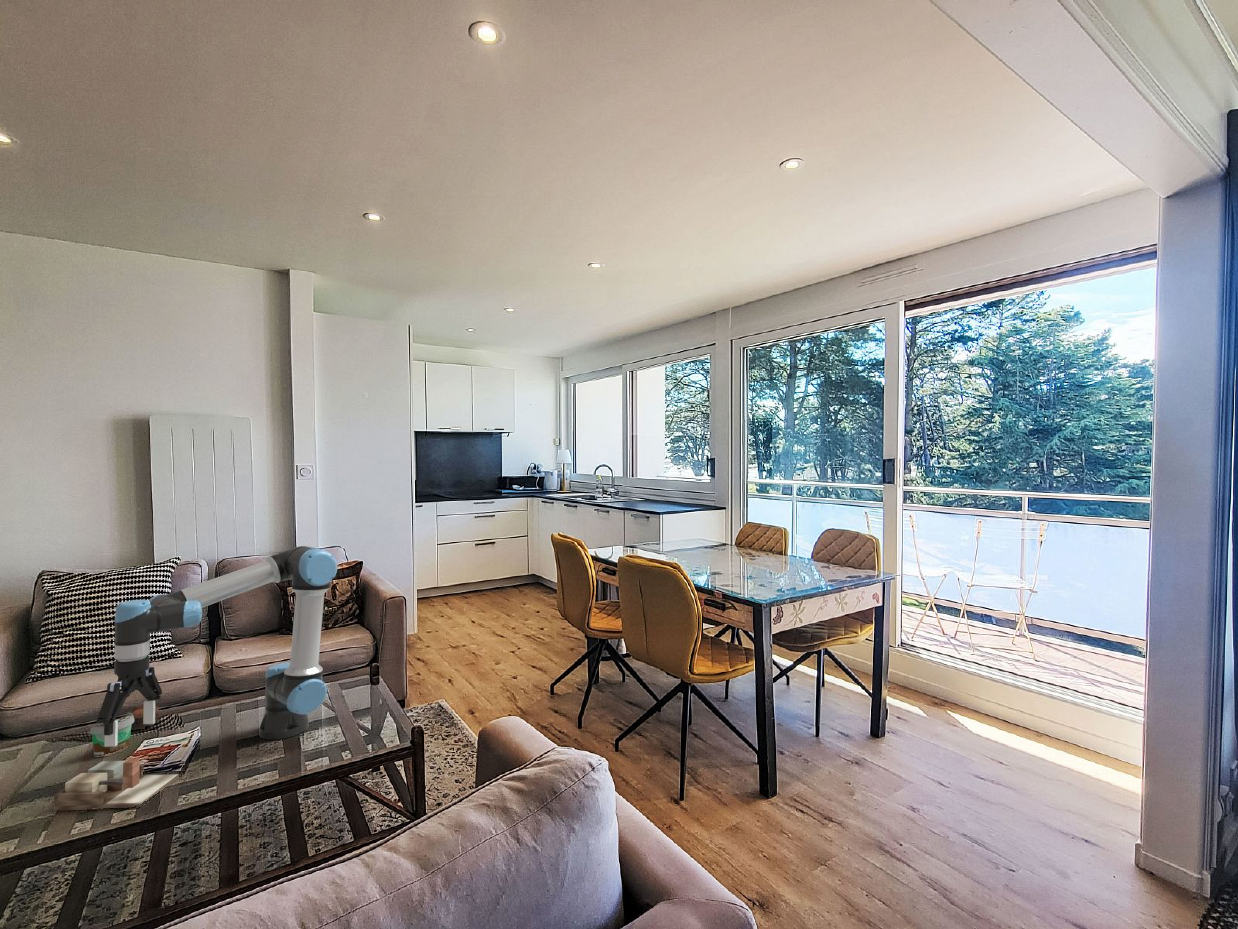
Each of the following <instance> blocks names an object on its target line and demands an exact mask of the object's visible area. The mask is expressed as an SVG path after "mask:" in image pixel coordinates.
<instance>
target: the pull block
mask: <svg viewBox="0 0 1238 929" xmlns="http://www.w3.org/2000/svg"><path fill="white" fill-rule="evenodd" d="M124 761H125V762H124V763H123V780H107V773H88V772H81V773H79V774H77V775H76V776H74V777H72V778H70V779H69V780H68V781H66V782H65V783H64V786H65V787H64V788H65V793H67V792H106V791H107V785H121V784H123V788H133V787H135V786H136V785H137V784H139V765H140V764H141V763H140V757H137V758H136V757H131V758H128V759H127V760H124Z"/></svg>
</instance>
